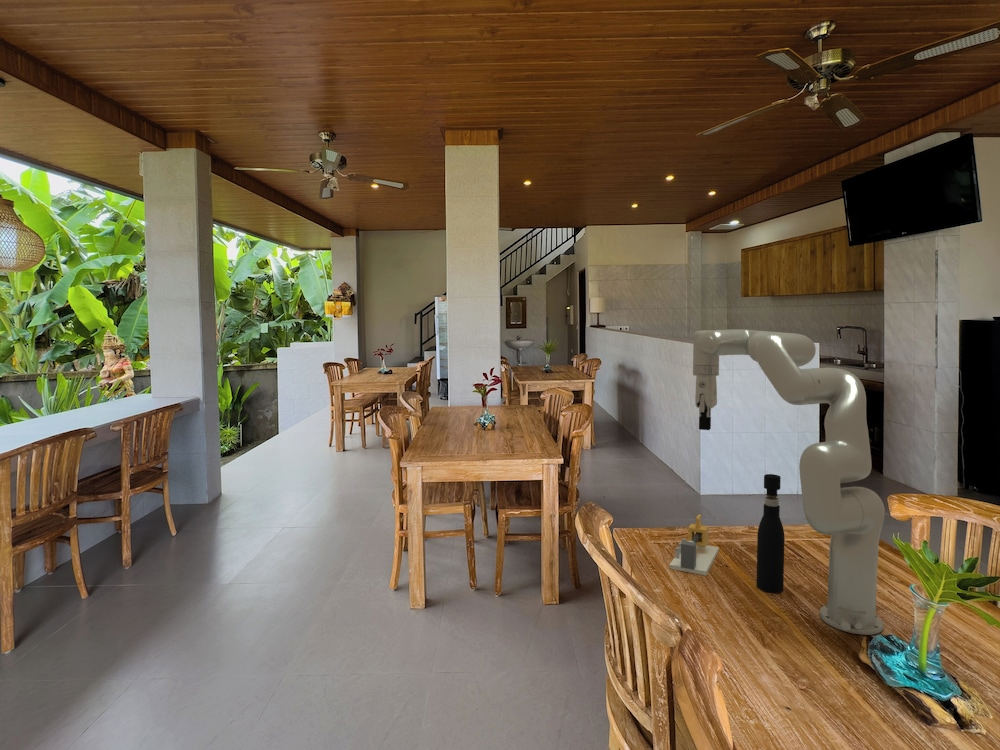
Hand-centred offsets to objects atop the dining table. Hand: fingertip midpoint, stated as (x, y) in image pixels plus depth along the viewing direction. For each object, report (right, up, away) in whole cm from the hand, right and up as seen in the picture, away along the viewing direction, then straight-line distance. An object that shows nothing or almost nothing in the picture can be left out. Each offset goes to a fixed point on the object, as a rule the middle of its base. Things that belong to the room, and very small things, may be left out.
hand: (704, 429), depth 179 cm
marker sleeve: (-4, -34, -5) cm, 34 cm away
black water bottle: (+7, -39, -27) cm, 48 cm away
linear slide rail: (-6, -38, -8) cm, 39 cm away
